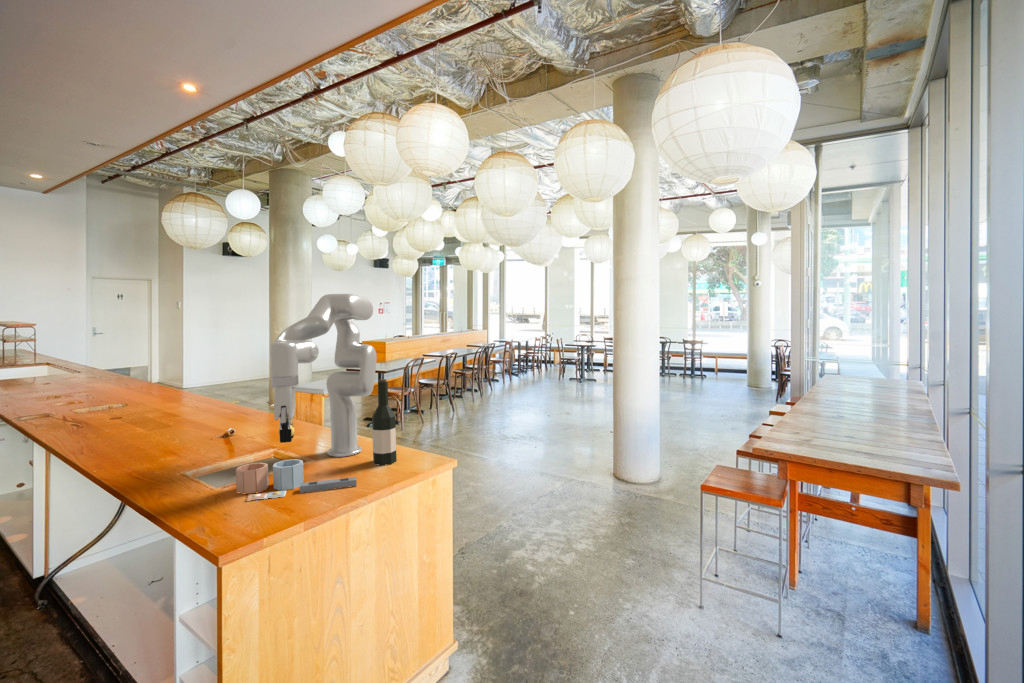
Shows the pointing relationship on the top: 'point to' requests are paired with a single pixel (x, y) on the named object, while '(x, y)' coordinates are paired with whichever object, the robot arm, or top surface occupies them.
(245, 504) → the top surface
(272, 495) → the card
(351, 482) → the holder
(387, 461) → the wine bottle
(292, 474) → the tube bluegrey
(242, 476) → the tube terracotta
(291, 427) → the ball ochre
